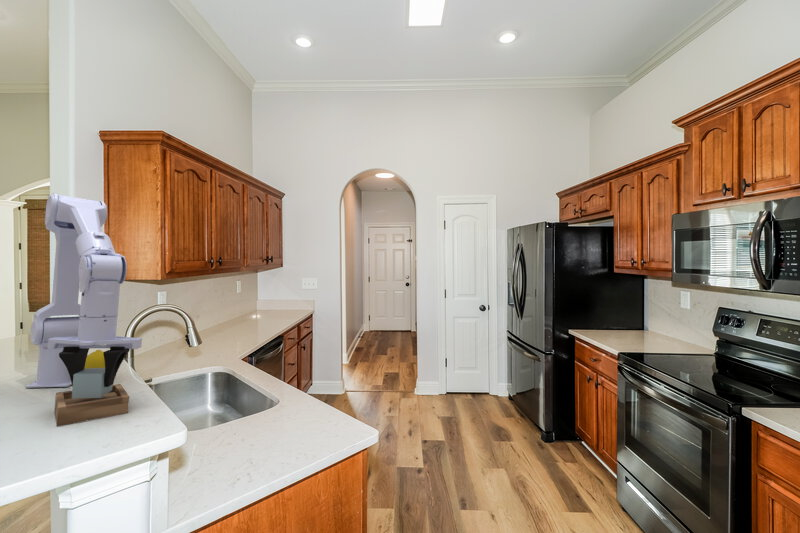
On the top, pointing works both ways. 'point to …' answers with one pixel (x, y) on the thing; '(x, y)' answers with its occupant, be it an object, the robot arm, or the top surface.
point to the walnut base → (90, 406)
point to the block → (89, 384)
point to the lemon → (95, 360)
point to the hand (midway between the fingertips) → (93, 385)
